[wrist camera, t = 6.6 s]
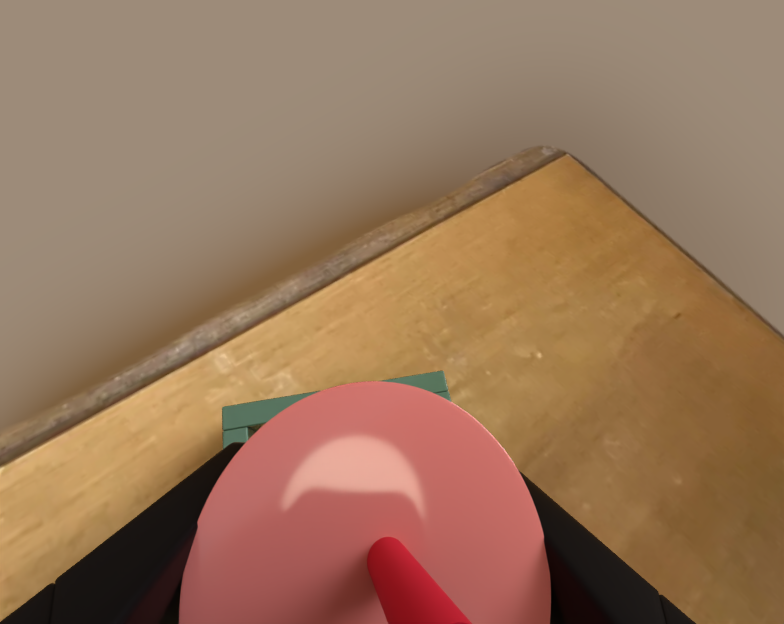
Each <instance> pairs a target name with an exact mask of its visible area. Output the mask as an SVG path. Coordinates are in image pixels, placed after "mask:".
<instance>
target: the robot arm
mask: <svg viewBox="0 0 784 624" xmlns="http://www.w3.org/2000/svg"><path fill="white" fill-rule="evenodd" d="M244 444H245V442H233V443H231V444H229V445H228V446H227V447H225V448H224V449H223V450H221V451H220V452H219V453H218V454H216V455H215V456H214V457H212V458H211V459H210V460H209V461H207V462H206V463H205V464H203V465H202V466H201V467H200V468H198V469H197V470H196V471H194V472H193V473H192V474H191V475H189V476H188V477H187V478H185V479H184V480H183V481H182V482H180V483H179V484H178V485H176V486H175V487H174V488H173V489H171V490H170V491H169V492H167V493H166V494H165V495H164V496H162V497H161V498H160V499H158V500H157V501H156V502H155V503H153V504H152V505H151V506H149V507H148V508H147V509H146V510H144V511H143V512H142V513H140V514H139V515H138V516H137V517H135V518H134V519H133V520H131V521H130V522H129V523H128V524H126V525H125V526H124V527H122V528H121V529H120V530H119V531H117V532H116V533H115V534H113V535H112V536H111V537H110V538H108V539H107V540H106V541H104V542H103V543H102V544H101V545H99V546H98V547H97V548H95V549H94V550H93V551H92V552H90V553H89V554H88V555H86V556H85V557H84V558H83V559H81V560H80V561H79V562H77V563H76V564H75V565H74V566H72V567H71V568H70V569H69V570H67V571H66V572H65V573H63V574H62V575H61V576H60V577H58V578H57V579H56V581H55V584H53V583H51V584H49V585H48V586H46V587H45V588H44V589H43V590H41V591H40V592H39V593H37V594H36V595H35V596H34V597H32V598H31V599H30V600H28V601H27V602H26V603H25V604H23V605H22V606H21V607H19V608H18V609H17V610H15V611H14V612H13V613H11V614H10V615H9V616H7V617H6V618H5V619H3V620H2V621H1V622H0V624H179V604H180V592H181V584H182V577H183V573H184V569H185V566H186V563H187V560H188V557H189V554H190V551H191V547H192V544H193V541H194V538H195V535H196V532H197V529H198V523H197V522H198V519H199V516H200V514H201V512H202V509H203V507H204V505H205V503H206V501H207V499H208V497H209V495H210V493H211V491H212V489H213V487H214V486H215V484H216V482H217V480H218V479H219V477H220V476H221V474H222V473H223V471H224V470H225V468H226V467H227V465H228V464H229V462H230V461H231V460H232V458H233V457H234V456H235V455H236V453H237V452H238V451H239V450H240V448H241V447H242V446H243V445H244ZM518 471H519V470H518ZM519 473H520V474H521V476H522V478H523V480H524V482H525V484H526V486H527V488H528V490H529V493H530V495H531V497H532V500H533V502H534V505H535V507H536V510H537V513H538V516H539V519H540V523H541V526H542V530H543V534H544V545H545V550H546V555H547V561H548V566H549V571H550V581H551V614H550V624H696V623H695V622H693V621H692V620H691V619H690V618H689V617H688V616H686V615H685V614H684V613H683V612H682V611H681V610H679V609H678V608H677V607H676V606H675V605H674V604H672V603H671V602H670V601H669V600H668V599H667V598H666V597H664V596H663V595H659V593H658V591H657V590H656V589H655V588H654V587H653V586H652V585H650V584H649V583H648V582H647V581H646V580H645V579H643V578H642V577H641V576H640V575H639V574H638V573H637V572H635V571H634V570H633V569H632V568H631V567H630V566H628V565H627V564H626V563H625V562H624V561H623V560H622V559H620V558H619V557H618V556H617V555H616V554H615V553H613V552H612V551H611V550H610V549H609V548H608V547H607V546H605V545H604V544H603V543H602V542H601V541H600V540H598V539H597V538H596V537H595V536H594V535H593V534H592V533H590V532H589V531H588V530H587V529H586V528H585V527H583V526H582V525H581V524H580V523H579V522H578V521H577V520H575V519H574V518H573V517H572V516H571V515H570V514H568V513H567V512H566V511H565V510H564V509H563V508H562V507H560V506H559V505H558V504H557V503H556V502H555V501H553V500H552V499H551V498H550V497H549V496H548V495H547V494H545V493H544V492H543V491H542V490H541V489H540V488H538V487H537V486H536V485H535V484H534V483H533V482H532V481H530V480H529V479H528V478H527V477H526V476H525V475H523V474H522V473H521V472H520V471H519Z"/></svg>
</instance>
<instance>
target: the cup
mask: <svg viewBox="0 0 784 624" xmlns="http://www.w3.org/2000/svg"><path fill="white" fill-rule="evenodd" d="M197 523H198V529H197V532H196V535H195V538H194V541H193V544H192V547H191V551H190V554H189V557H188V560H187V563H186V566H185V569H184V573H183V577H182V584H181V592H180V604H179V624H550V614H551V581H550V571H549V566H548V561H547V555H546V550H545V545H544V534H543V530H542V526H541V523H540V519H539V516H538V513H537V510H536V507H535V505H534V502H533V500H532V497H531V495H530V493H529V490H528V488H527V486H526V484H525V482H524V480H523V478H522V476H521V474H520V473H519V471H518V469H517V468H516V466H515V464H514V463H513V461H512V460H511V458H510V457H509V455H508V454H507V452H506V451H505V450H504V448H503V447H502V446H501V445H500V443H499V442H498V441H497V440H496V439H495V438H494V436H493V435H492V434H491V433H490V432H489V431H488V430H487V429H486V428H485V427H484V426H483V425H482V424H481V423H479V422H478V421H477V420H476V419H475V418H474V417H472V416H471V415H470V414H469V413H467V412H466V411H464V410H463V409H462V408H460V407H459V406H457V405H455V404H454V403H452V402H450V401H449V400H447V399H445V398H443V397H441V396H439V395H436V394H434V393H432V392H429V391H427V390H424V389H421V388H417V387H414V386H410V385H406V384H400V383H393V382H382V381H368V382H356V383H349V384H344V385H340V386H335V387H332V388H329V389H325V390H323V391H320V392H317V393H315V394H312V395H310V396H308V397H306V398H304V399H302V400H300V401H298V402H296V403H294V404H292V405H291V406H289V407H288V408H286V409H284V410H283V411H281V412H280V413H279V414H277V415H276V416H274V417H273V418H272V419H270V420H269V421H268V422H267V423H266V424H264V425H263V426H262V427H261V428H260V429H259V430H258V431H257V432H256V433H255V434H254V435H253V436H252V437H251V438H250V439H249V440H248V441H247V442H246V443H245V444H244V445H243V446H242V447H241V448H240V450H239V451H238V452H237V453H236V455H235V456H234V457H233V458H232V460H231V461H230V462H229V464H228V465H227V467H226V468H225V470H224V471H223V473H222V474H221V476H220V477H219V479H218V480H217V482H216V484H215V486H214V487H213V489H212V491H211V493H210V495H209V497H208V499H207V501H206V503H205V505H204V507H203V509H202V512H201V514H200V516H199V519H198V522H197Z"/></svg>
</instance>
